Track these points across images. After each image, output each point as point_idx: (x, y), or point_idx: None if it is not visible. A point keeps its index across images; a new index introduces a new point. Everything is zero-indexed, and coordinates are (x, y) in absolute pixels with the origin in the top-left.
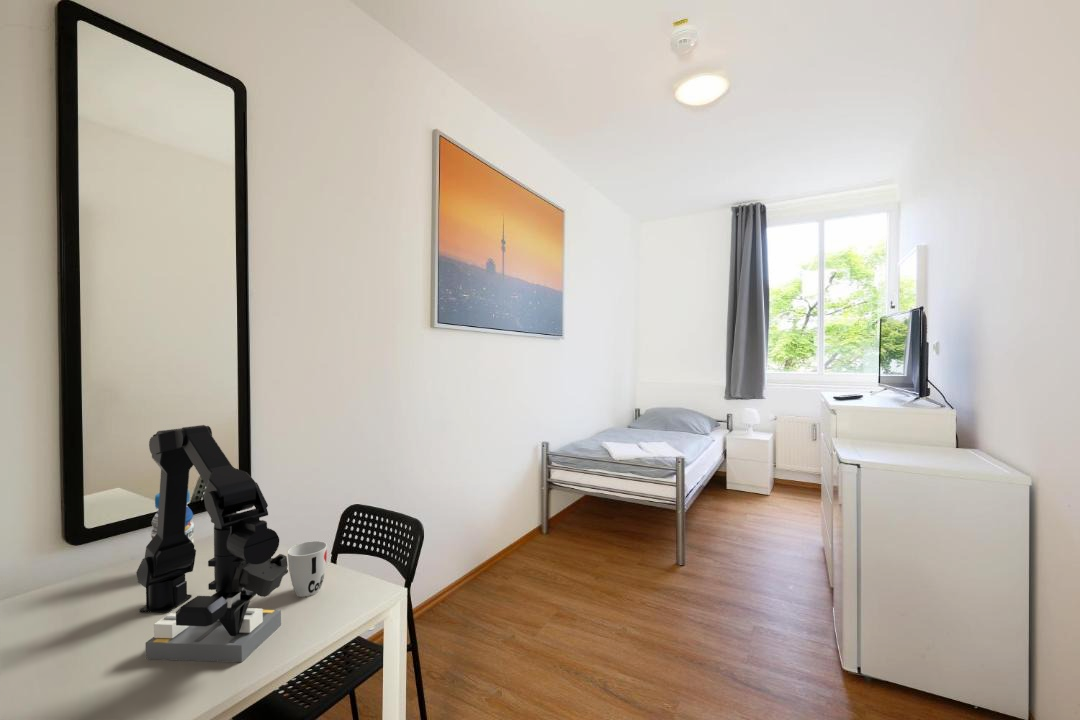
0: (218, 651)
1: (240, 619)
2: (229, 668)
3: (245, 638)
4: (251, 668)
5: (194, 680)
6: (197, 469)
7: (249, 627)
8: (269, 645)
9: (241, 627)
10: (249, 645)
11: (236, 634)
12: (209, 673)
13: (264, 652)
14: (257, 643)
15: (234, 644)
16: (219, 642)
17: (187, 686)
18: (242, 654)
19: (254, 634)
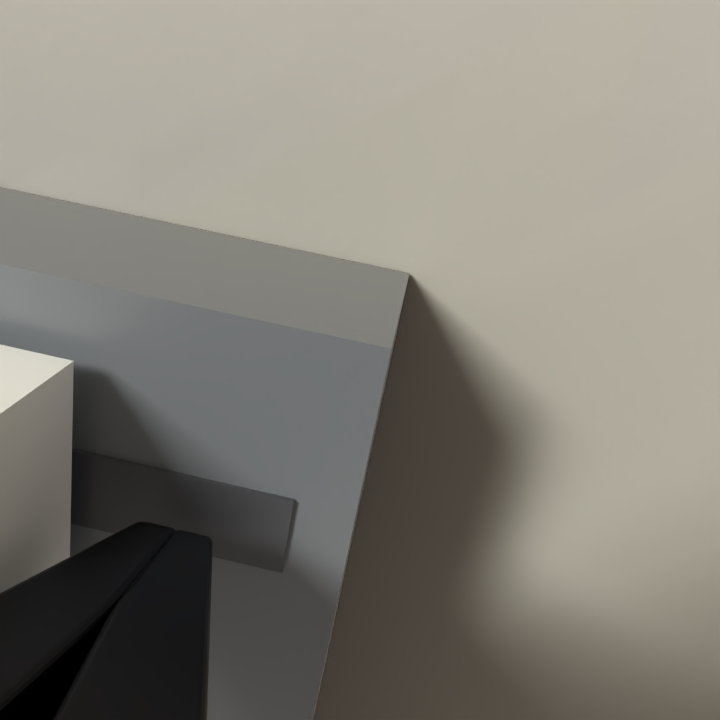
0: (338, 599)
1: (1, 705)
2: (499, 365)
3: (198, 372)
4: (564, 81)
5: (625, 610)
6: None
7: (18, 408)
8: (88, 68)
9: (22, 543)
10: (239, 275)
11: (198, 541)
12: (542, 527)
13: (234, 65)
14: (108, 223)
15: (348, 469)
16: (273, 672)
17: (707, 631)
18: (392, 295)
19: (82, 276)
